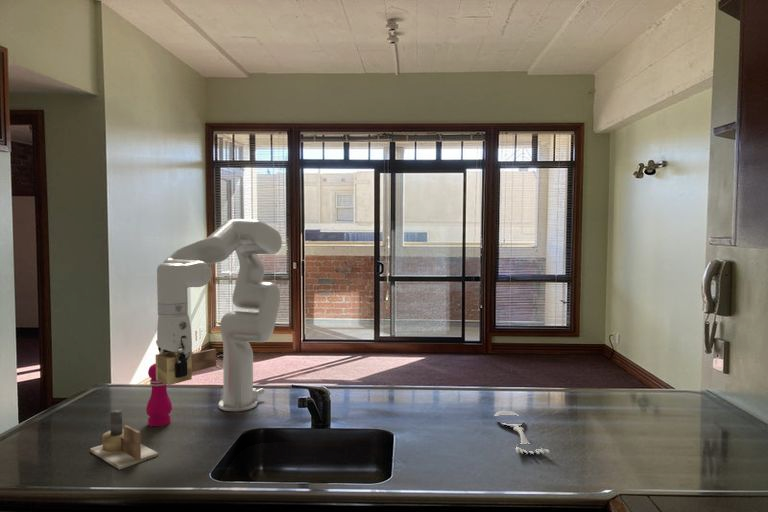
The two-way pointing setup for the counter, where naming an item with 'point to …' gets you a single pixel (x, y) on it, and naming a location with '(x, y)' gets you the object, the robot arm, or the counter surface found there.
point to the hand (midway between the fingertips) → (173, 373)
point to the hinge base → (122, 444)
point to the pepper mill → (158, 401)
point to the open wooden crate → (194, 363)
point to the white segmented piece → (520, 431)
